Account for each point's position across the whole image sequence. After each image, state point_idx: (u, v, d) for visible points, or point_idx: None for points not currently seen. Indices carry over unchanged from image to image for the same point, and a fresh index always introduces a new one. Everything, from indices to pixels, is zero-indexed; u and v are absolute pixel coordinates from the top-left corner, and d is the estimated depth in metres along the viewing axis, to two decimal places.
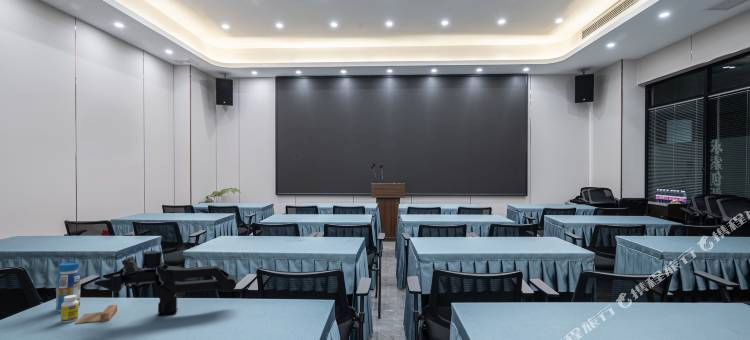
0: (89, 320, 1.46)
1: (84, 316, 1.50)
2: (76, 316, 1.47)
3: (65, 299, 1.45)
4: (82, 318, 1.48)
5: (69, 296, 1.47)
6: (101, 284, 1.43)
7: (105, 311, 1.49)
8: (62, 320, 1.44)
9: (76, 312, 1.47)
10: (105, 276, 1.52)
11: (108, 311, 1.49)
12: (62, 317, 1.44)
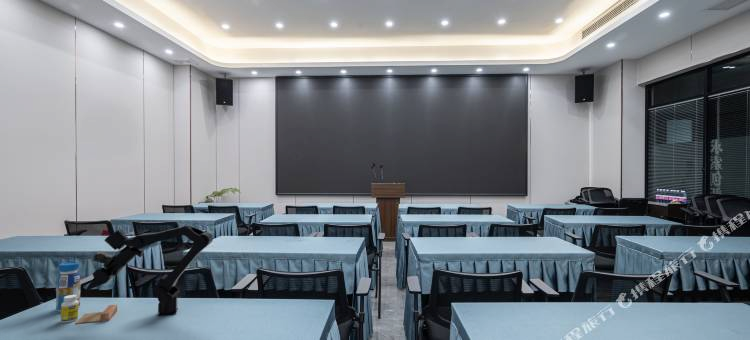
0: (89, 320, 1.46)
1: (84, 316, 1.50)
2: (76, 316, 1.47)
3: (65, 299, 1.45)
4: (82, 318, 1.48)
5: (69, 296, 1.47)
6: (93, 286, 1.45)
7: (105, 311, 1.49)
8: (62, 320, 1.44)
9: (76, 312, 1.47)
10: None
11: (108, 311, 1.49)
12: (62, 317, 1.44)
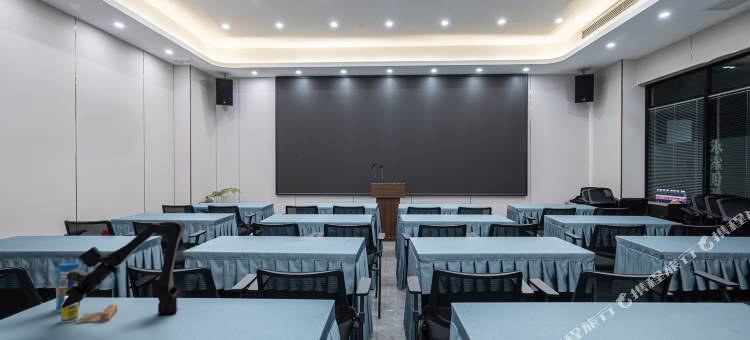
0: (89, 320, 1.46)
1: (84, 316, 1.50)
2: (76, 316, 1.47)
3: (65, 299, 1.45)
4: (82, 318, 1.48)
5: None
6: (68, 303, 1.44)
7: (105, 311, 1.49)
8: (62, 320, 1.44)
9: (76, 312, 1.47)
10: None
11: (108, 311, 1.49)
12: (62, 317, 1.44)
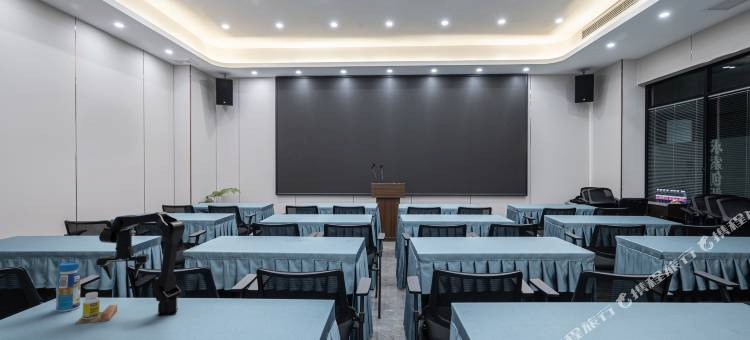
0: (89, 320, 1.46)
1: None
2: (97, 313, 1.49)
3: (87, 296, 1.47)
4: (82, 318, 1.48)
5: (91, 293, 1.49)
6: None
7: (105, 311, 1.49)
8: (84, 317, 1.47)
9: (97, 309, 1.49)
10: None
11: (108, 311, 1.49)
12: (84, 314, 1.47)
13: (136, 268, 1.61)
